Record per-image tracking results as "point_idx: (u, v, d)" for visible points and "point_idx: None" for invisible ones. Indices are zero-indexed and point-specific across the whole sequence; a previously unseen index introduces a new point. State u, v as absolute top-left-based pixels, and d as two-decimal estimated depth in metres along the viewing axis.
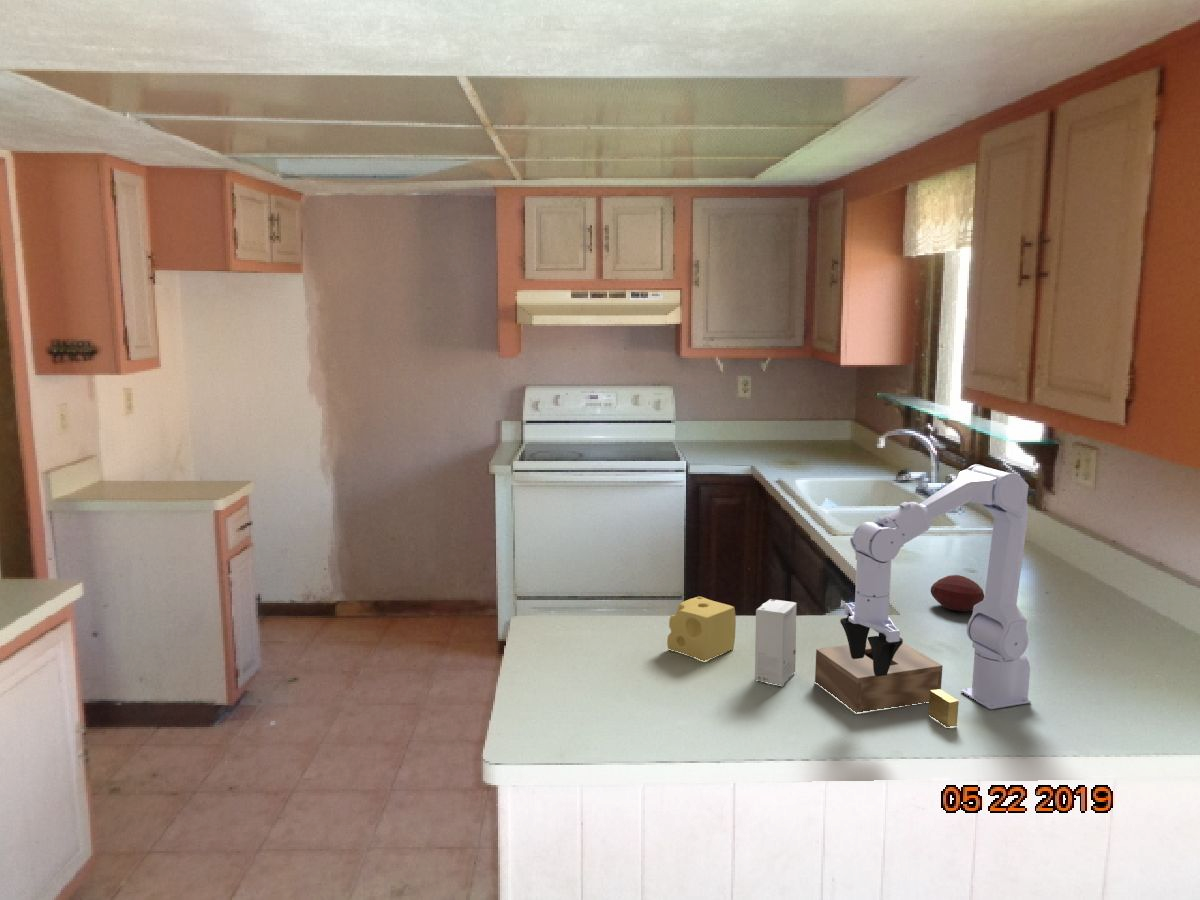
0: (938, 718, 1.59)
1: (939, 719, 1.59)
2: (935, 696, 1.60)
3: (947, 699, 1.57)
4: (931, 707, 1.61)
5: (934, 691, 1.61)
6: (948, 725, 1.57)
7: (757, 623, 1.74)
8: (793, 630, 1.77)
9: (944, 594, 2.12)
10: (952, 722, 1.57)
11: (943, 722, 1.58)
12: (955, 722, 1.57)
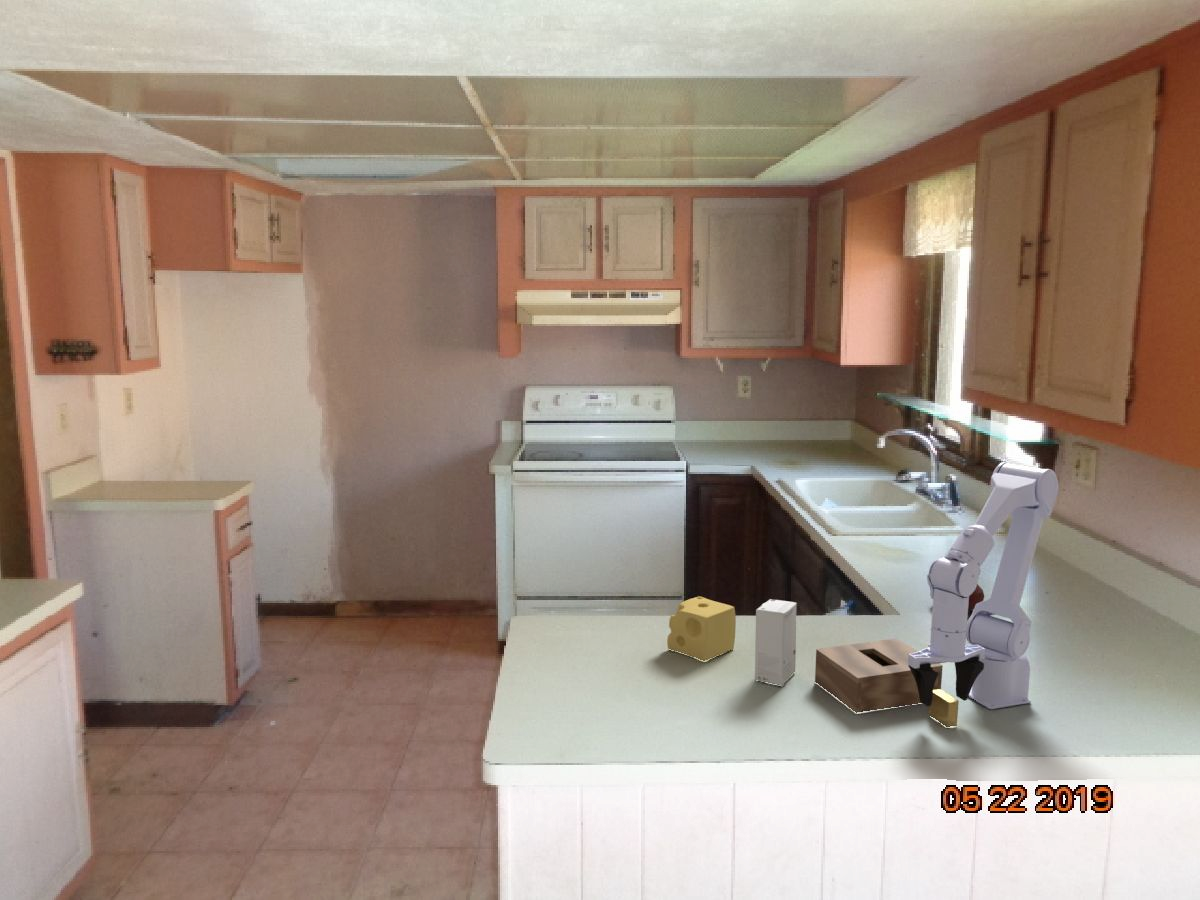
0: (938, 718, 1.59)
1: (939, 719, 1.59)
2: (935, 696, 1.60)
3: (947, 699, 1.57)
4: (931, 707, 1.61)
5: (934, 691, 1.61)
6: (948, 725, 1.57)
7: (757, 623, 1.74)
8: (793, 630, 1.77)
9: None
10: (952, 722, 1.57)
11: (943, 722, 1.58)
12: (955, 722, 1.57)
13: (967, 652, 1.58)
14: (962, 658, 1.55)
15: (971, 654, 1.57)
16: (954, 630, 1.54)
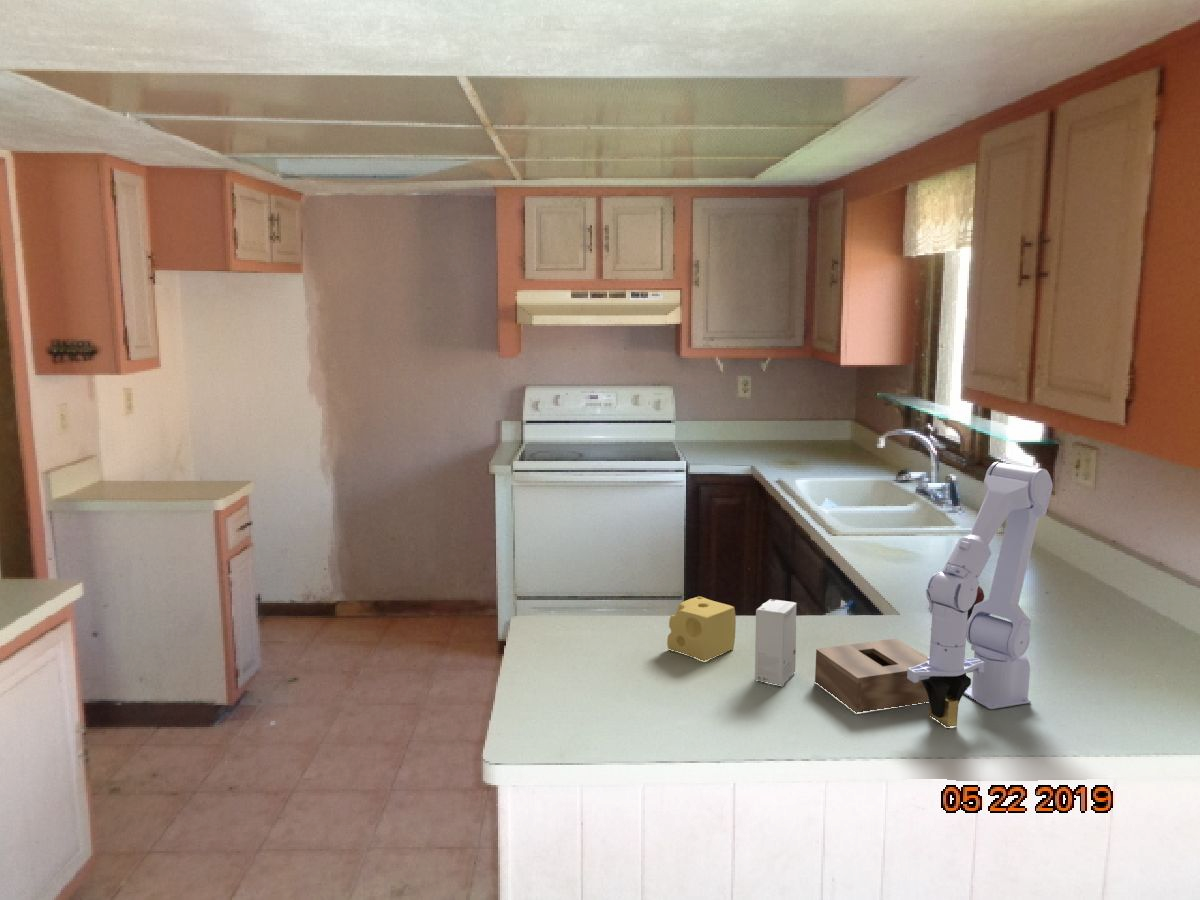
0: (938, 718, 1.59)
1: (939, 719, 1.59)
2: None
3: (947, 699, 1.57)
4: None
5: None
6: (948, 725, 1.57)
7: (757, 623, 1.74)
8: (793, 630, 1.77)
9: None
10: (952, 722, 1.57)
11: (943, 722, 1.58)
12: (955, 722, 1.57)
13: (966, 666, 1.59)
14: (961, 672, 1.55)
15: (970, 668, 1.57)
16: (953, 644, 1.54)
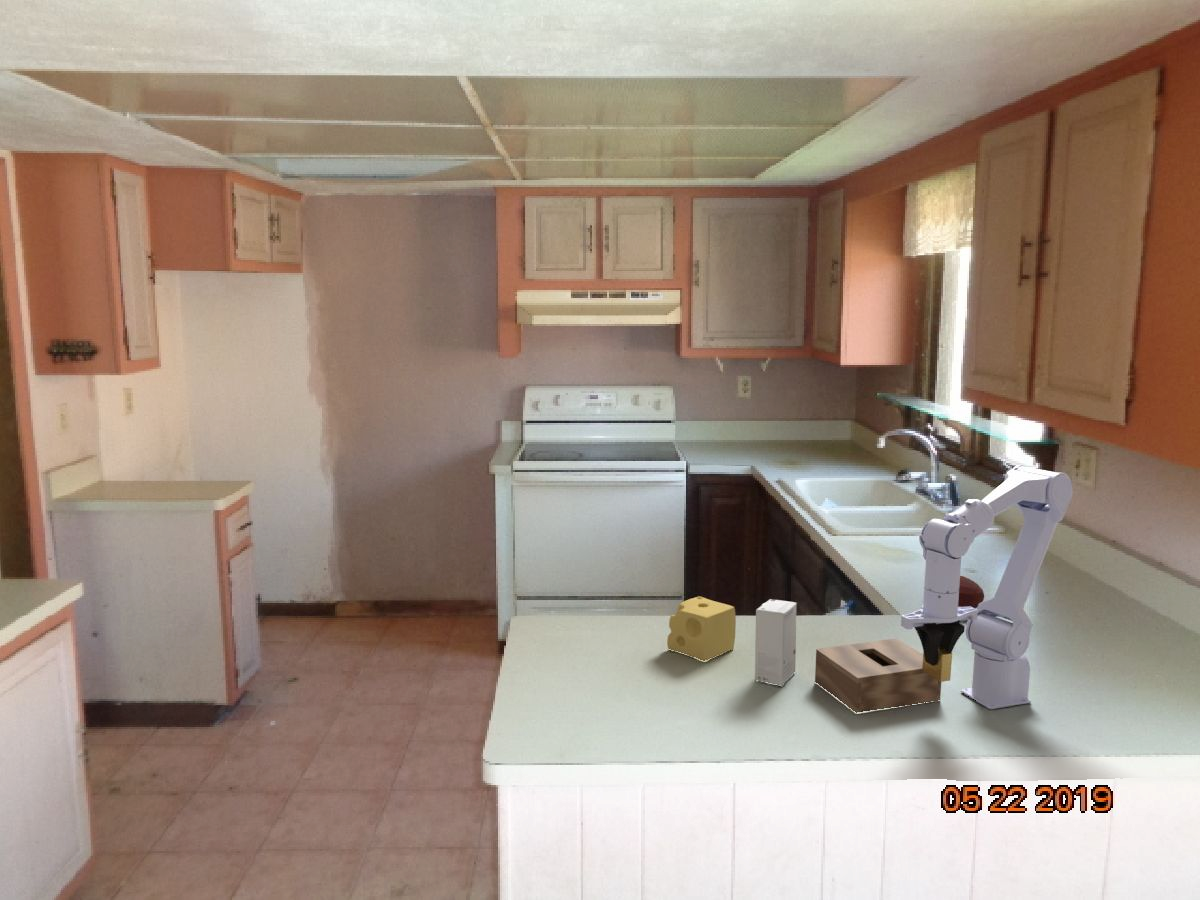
0: (932, 671, 1.59)
1: (933, 672, 1.59)
2: None
3: (941, 652, 1.57)
4: None
5: None
6: (941, 678, 1.57)
7: (757, 623, 1.74)
8: (793, 630, 1.77)
9: None
10: (946, 675, 1.57)
11: (937, 675, 1.58)
12: (948, 675, 1.58)
13: (960, 613, 1.59)
14: (955, 619, 1.56)
15: (964, 615, 1.57)
16: (944, 591, 1.54)
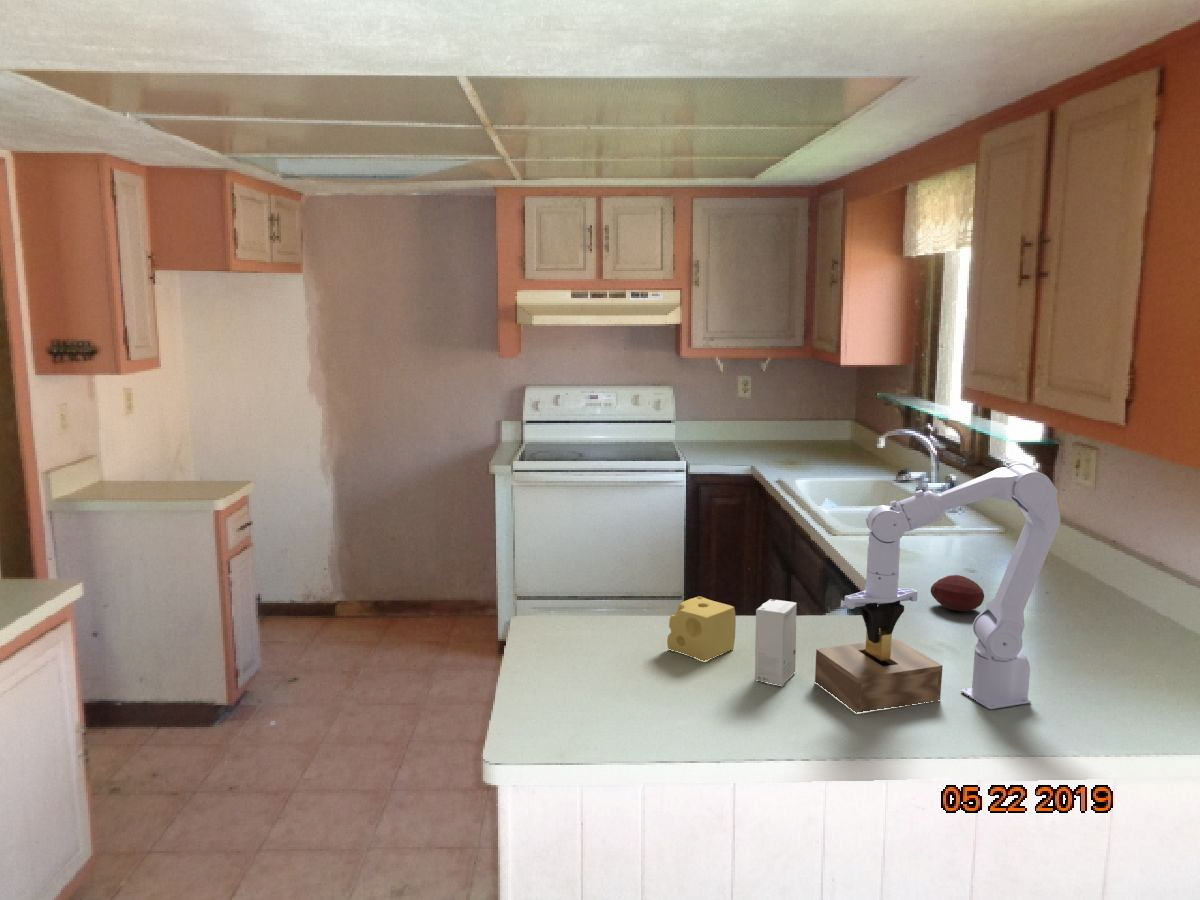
0: (873, 651, 1.70)
1: (874, 652, 1.70)
2: None
3: (881, 633, 1.68)
4: (867, 641, 1.72)
5: None
6: (882, 657, 1.68)
7: (757, 623, 1.74)
8: (793, 630, 1.77)
9: (944, 593, 2.12)
10: (886, 654, 1.68)
11: (877, 654, 1.69)
12: (888, 654, 1.68)
13: (900, 594, 1.69)
14: (894, 599, 1.66)
15: (903, 596, 1.68)
16: (874, 571, 1.66)
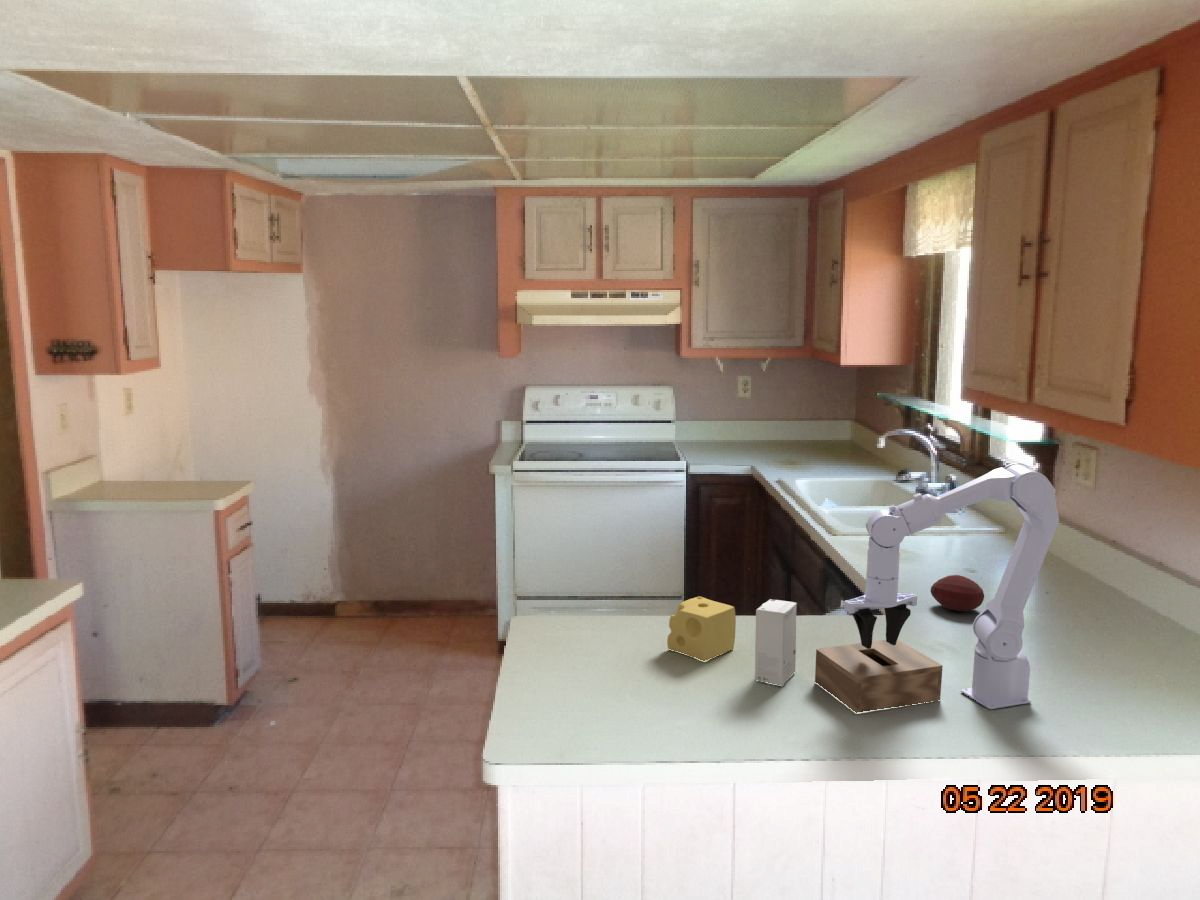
0: None
1: None
2: None
3: None
4: None
5: None
6: None
7: (757, 623, 1.74)
8: (793, 630, 1.77)
9: (944, 593, 2.12)
10: None
11: None
12: None
13: (900, 599, 1.69)
14: (894, 604, 1.66)
15: (903, 600, 1.68)
16: (874, 576, 1.66)
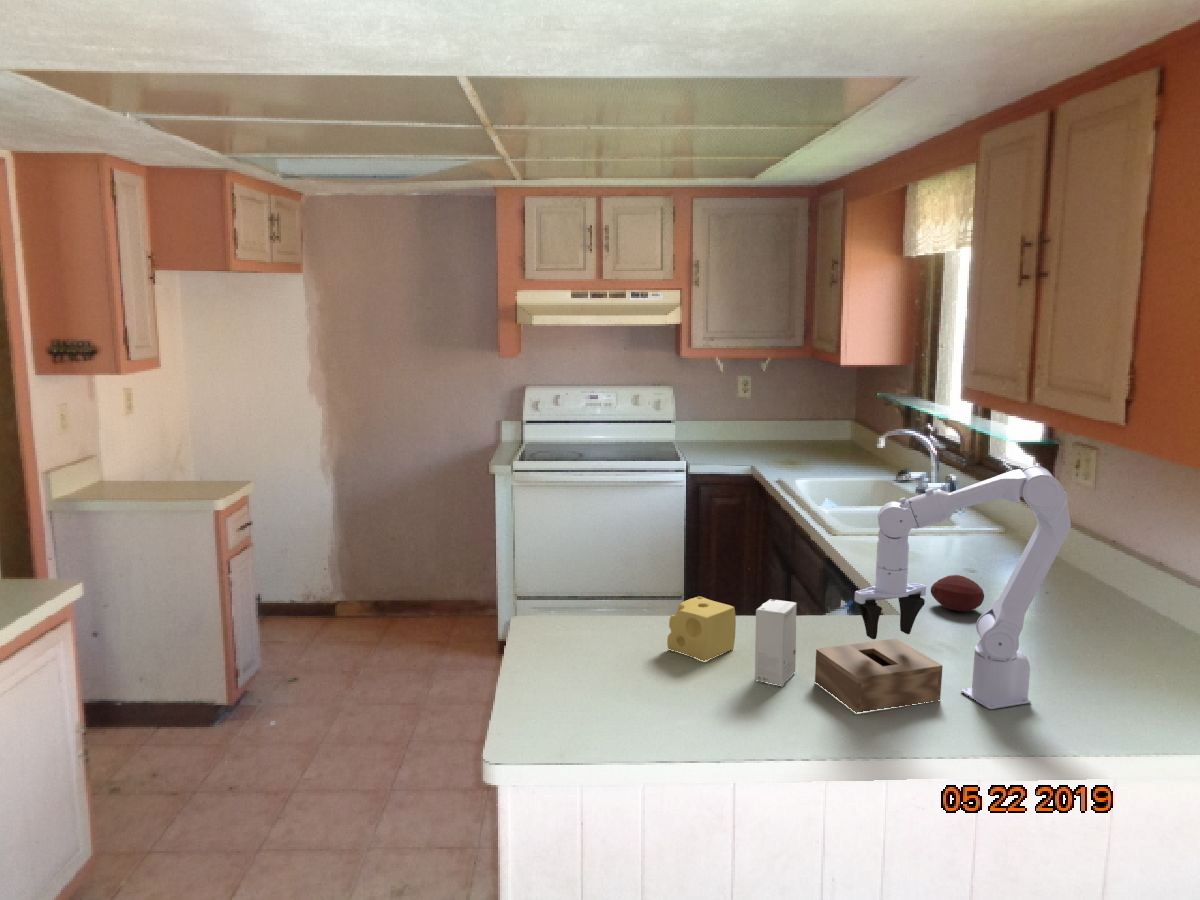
0: None
1: None
2: None
3: None
4: None
5: None
6: None
7: (757, 623, 1.74)
8: (793, 630, 1.77)
9: (944, 593, 2.12)
10: None
11: None
12: None
13: (909, 589, 1.72)
14: (904, 594, 1.69)
15: (912, 591, 1.70)
16: (882, 566, 1.69)
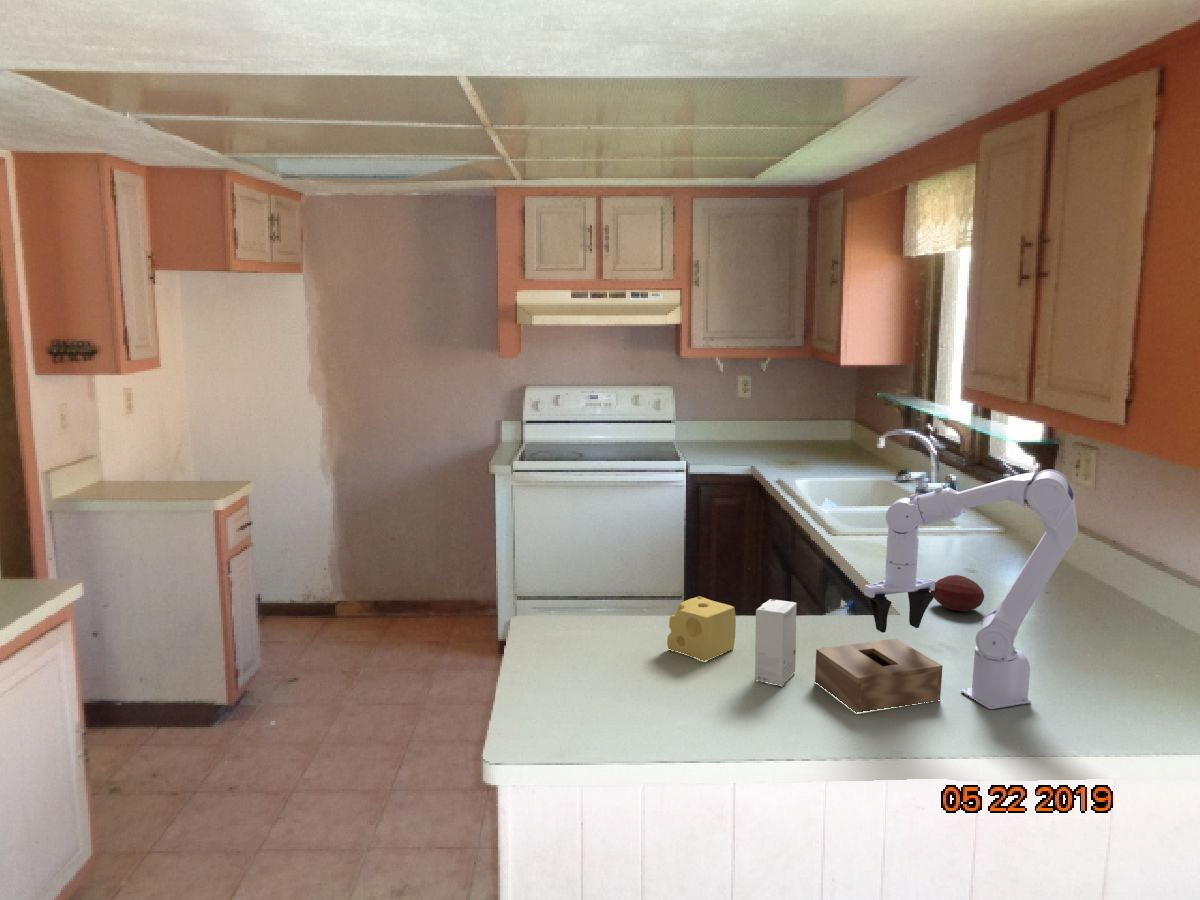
0: None
1: None
2: None
3: None
4: None
5: None
6: None
7: (757, 623, 1.74)
8: (793, 630, 1.77)
9: (944, 594, 2.12)
10: None
11: None
12: None
13: (918, 584, 1.75)
14: (913, 588, 1.72)
15: (922, 585, 1.73)
16: (889, 560, 1.72)
